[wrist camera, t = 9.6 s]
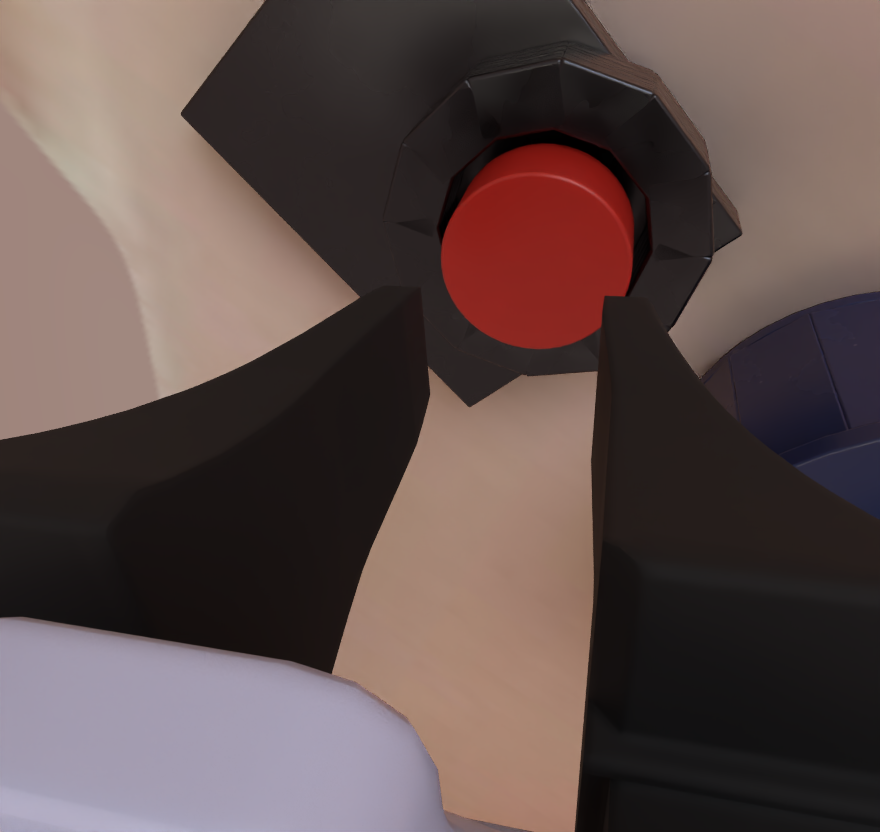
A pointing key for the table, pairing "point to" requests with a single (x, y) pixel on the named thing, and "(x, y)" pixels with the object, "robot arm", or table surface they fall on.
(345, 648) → the table surface
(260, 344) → the table surface
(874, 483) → the lid
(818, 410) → the pot
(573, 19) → the control block
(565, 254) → the button
